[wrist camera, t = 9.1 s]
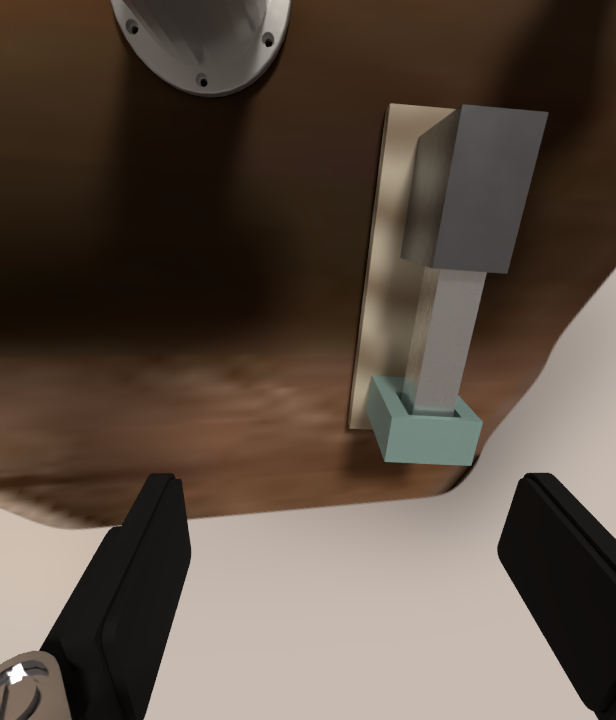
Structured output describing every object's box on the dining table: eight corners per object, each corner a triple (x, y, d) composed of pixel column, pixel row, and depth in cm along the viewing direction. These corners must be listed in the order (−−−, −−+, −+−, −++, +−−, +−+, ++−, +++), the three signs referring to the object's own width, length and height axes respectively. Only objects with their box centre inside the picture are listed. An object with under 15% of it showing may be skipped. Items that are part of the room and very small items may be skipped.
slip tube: (434, 213, 26) (451, 211, 23) (477, 216, 26) (500, 215, 23) (399, 409, 32) (409, 428, 29) (435, 411, 32) (449, 430, 29)
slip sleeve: (418, 137, 28) (462, 104, 20) (481, 142, 28) (548, 112, 20) (400, 257, 31) (432, 268, 23) (457, 261, 31) (507, 273, 24)
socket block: (372, 375, 35) (392, 417, 27) (443, 379, 35) (483, 421, 27) (366, 412, 36) (384, 461, 28) (435, 415, 36) (471, 465, 29)
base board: (385, 109, 28) (390, 103, 27) (509, 120, 29) (520, 114, 27) (347, 421, 38) (349, 428, 37) (440, 425, 38) (445, 433, 37)
